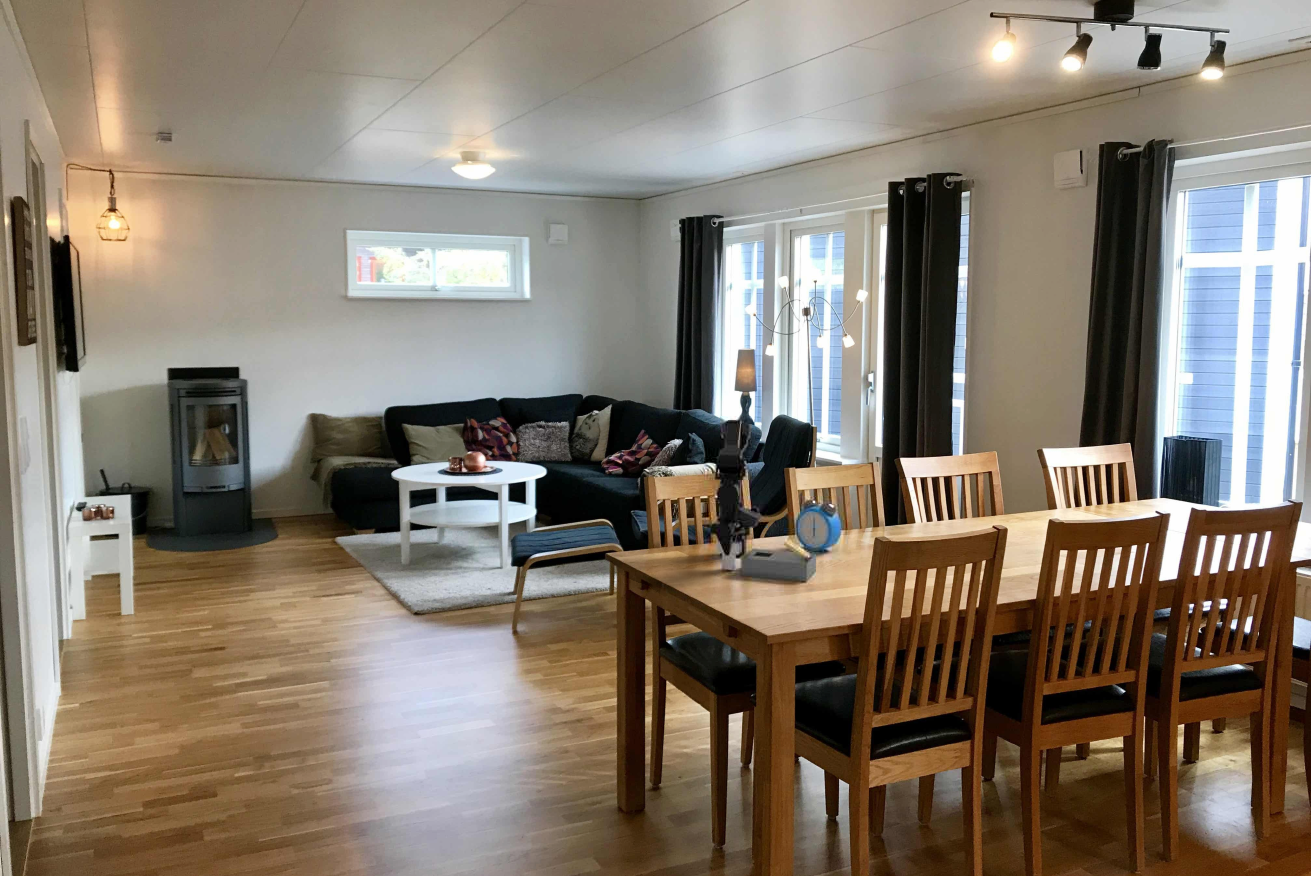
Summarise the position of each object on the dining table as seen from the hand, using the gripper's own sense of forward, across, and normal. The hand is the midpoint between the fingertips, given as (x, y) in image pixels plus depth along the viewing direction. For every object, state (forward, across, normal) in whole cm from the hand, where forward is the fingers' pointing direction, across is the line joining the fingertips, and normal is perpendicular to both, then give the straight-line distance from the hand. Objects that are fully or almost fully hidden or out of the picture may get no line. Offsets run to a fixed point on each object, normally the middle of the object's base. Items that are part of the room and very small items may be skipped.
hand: (728, 553), depth 287 cm
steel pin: (+4, 0, 0) cm, 4 cm away
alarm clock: (+5, +34, -18) cm, 39 cm away
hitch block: (+5, +1, -14) cm, 15 cm away
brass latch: (-2, +1, -19) cm, 19 cm away
